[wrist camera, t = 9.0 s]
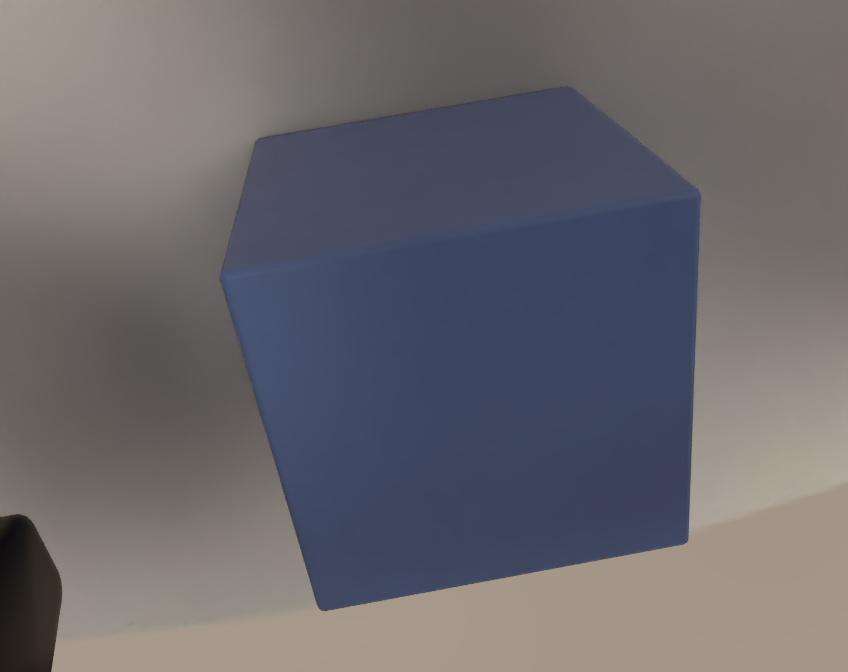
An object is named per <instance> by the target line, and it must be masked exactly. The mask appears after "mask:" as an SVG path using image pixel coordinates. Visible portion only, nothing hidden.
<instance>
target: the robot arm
mask: <svg viewBox="0 0 848 672" xmlns="http://www.w3.org/2000/svg"><path fill="white" fill-rule="evenodd" d="M61 602H62V583H61V578H60V575H59V572H58V570H57V568H56V566H55V564H54V562H53V560H52V558H51V556H50V554H49V552H48V550H47V549H46V547H45V545H44V543H43V541H42V539H41V537H40V535H39V533H38V531H37V529H36V527H35V526H34V524H33V523H32V521H31V520H30V519H29V518H28V517H26V516H24V515H20V514H15V515H9V516H4V517H0V672H51V669H52V662H53V656H54V649H55V642H56V635H57V629H58V622H59V615H60V608H61Z"/></svg>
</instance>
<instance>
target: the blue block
mask: <svg viewBox="0 0 848 672" xmlns="http://www.w3.org/2000/svg"><path fill="white" fill-rule="evenodd" d="M700 198H701V196H700V192H699V190H698V189H697V188H696V187H695V186H694V185H692V184H691V183H690V182H689V181H687V180H686V179H685V178H684V177H682V176H681V175H680V174H679V173H677V172H676V171H675V170H674V169H672V168H671V167H670V166H669V165H668V164H666V163H665V162H664V161H663V160H661V159H660V158H659V157H658V156H656V155H655V154H654V153H653V152H651V151H650V150H649V149H648V148H646V147H645V146H644V145H643V144H641V143H640V142H639V141H638V140H637V139H635V138H634V137H633V136H632V135H630V134H629V133H628V132H627V131H625V130H624V129H623V128H622V127H620V126H619V125H618V124H617V123H615V122H614V121H613V120H612V119H610V118H609V117H608V116H607V115H606V114H604V113H603V112H602V111H601V110H599V109H598V108H597V107H596V106H594V105H593V104H592V103H591V102H589V101H588V100H587V99H586V98H584V97H583V96H582V95H581V94H579V93H578V92H577V91H576V90H574V89H573V88H572V87H569V86H566V87H560V88H554V89H548V90H542V91H536V92H530V93H525V94H519V95H513V96H507V97H501V98H495V99H489V100H484V101H478V102H472V103H466V104H460V105H454V106H448V107H443V108H437V109H431V110H425V111H419V112H413V113H407V114H401V115H396V116H390V117H384V118H378V119H372V120H366V121H360V122H355V123H349V124H343V125H337V126H331V127H325V128H319V129H313V130H308V131H302V132H296V133H290V134H284V135H278V136H272V137H267V138H261V139H258V140H257V141H256V142H255V146H254V150H253V153H252V157H251V161H250V165H249V168H248V172H247V176H246V179H245V183H244V187H243V191H242V194H241V198H240V202H239V206H238V209H237V213H236V217H235V221H234V224H233V228H232V232H231V235H230V239H229V243H228V247H227V250H226V254H225V258H224V262H223V265H222V269H221V273H220V282H221V285H222V288H223V292H224V295H225V298H226V302H227V305H228V308H229V312H230V315H231V318H232V322H233V325H234V328H235V332H236V335H237V338H238V342H239V345H240V348H241V352H242V355H243V358H244V362H245V365H246V368H247V372H248V375H249V379H250V382H251V385H252V389H253V392H254V395H255V399H256V402H257V405H258V409H259V412H260V415H261V419H262V422H263V425H264V429H265V432H266V435H267V439H268V442H269V445H270V449H271V452H272V455H273V459H274V462H275V465H276V469H277V472H278V475H279V479H280V482H281V485H282V489H283V492H284V495H285V499H286V502H287V505H288V509H289V512H290V515H291V519H292V522H293V525H294V529H295V532H296V535H297V539H298V542H299V545H300V549H301V552H302V555H303V559H304V562H305V565H306V569H307V572H308V575H309V579H310V582H311V585H312V589H313V592H314V595H315V599H316V602H317V605H318V607H319V609H320V610H322V611H328V610H333V609H339V608H344V607H349V606H355V605H360V604H366V603H371V602H376V601H382V600H387V599H393V598H398V597H403V596H409V595H414V594H420V593H425V592H430V591H436V590H441V589H446V588H452V587H457V586H463V585H468V584H473V583H479V582H484V581H489V580H494V579H500V578H506V577H511V576H516V575H522V574H527V573H532V572H538V571H543V570H549V569H554V568H559V567H565V566H570V565H575V564H581V563H586V562H591V561H597V560H602V559H607V558H613V557H618V556H623V555H629V554H635V553H640V552H645V551H651V550H656V549H661V548H667V547H672V546H678V545H683V544H685V543H687V541H688V533H689V506H690V478H691V450H692V422H693V394H694V366H695V338H696V310H697V282H698V254H699V226H700Z"/></svg>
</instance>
